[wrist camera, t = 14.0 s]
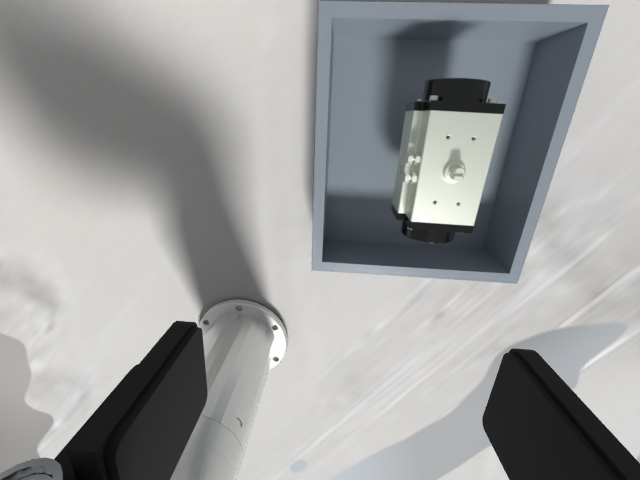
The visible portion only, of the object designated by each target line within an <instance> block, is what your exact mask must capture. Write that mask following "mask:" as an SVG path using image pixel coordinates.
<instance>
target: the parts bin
mask: <svg viewBox="0 0 640 480" xmlns="http://www.w3.org/2000/svg"><path fill="white" fill-rule="evenodd" d="M608 7H609V5H568V4H503V3H439V2H375V1H319V7H318V45H317V83H316V122H315V160H314V199H313V237H312V270H315V271H331V272H346V273H362V274H377V275H393V276H408V277H424V278H440V279H455V280H471V281H486V282H502V283H518V280H519V277H520V274H521V271H522V268H523V265H524V262H525V259H526V256H527V253H528V250H529V247H530V244H531V241H532V237H533V234H534V231H535V228H536V225H537V222H538V219H539V216H540V213H541V210H542V207H543V204H544V201H545V198H546V195H547V192H548V189H549V186H550V183H551V180H552V177H553V174H554V171H555V168H556V165H557V162H558V159H559V156H560V153H561V150H562V147H563V143H564V140H565V137H566V134H567V131H568V128H569V125H570V122H571V119H572V116H573V113H574V110H575V107H576V104H577V101H578V98H579V95H580V92H581V89H582V86H583V83H584V80H585V77H586V74H587V71H588V68H589V65H590V62H591V59H592V56H593V52H594V49H595V46H596V43H597V40H598V37H599V34H600V31H601V28H602V25H603V22H604V19H605V16H606V13H607V10H608ZM440 78H472V79H482V80H488V81H490V82H491V85H490V89H489V93H488V97H487V102H488V99H489V98H496V99H498V100H497V103H498V104H506V107H505V110H504V114H503V118H502V122H501V126H500V129H499V133H498V137H497V141H496V145H495V148H494V152H493V156H492V160H491V164H490V167H489V171H488V175H487V179H486V183H485V186H484V190H483V194H482V198H481V201H480V205H479V209H478V213H477V217H476V220H475V224H474V228H473V232H472V233H458V232H455V235H454V239H453V240H452V241H451V242H449V243H445V244H430V243H424V242H419V241H416V240H413V239H410V238H408V237H406V236H405V235H404V234H402V232H401V226H402V220H396V218H395V216H394V214H393V212H392V210H391V207H392V200H393V193H394V187H395V180H396V173H397V166H398V159H399V153H400V146H401V139H402V132H403V125H404V119H405V112H406V105H407V103H410V102H414V101H417V99H423V93H424V87H425V82H426V81H427V80H431V79H440ZM487 102H486V103H487Z"/></svg>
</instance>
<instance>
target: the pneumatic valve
mask: <svg viewBox="0 0 640 480" xmlns="http://www.w3.org/2000/svg"><path fill="white" fill-rule="evenodd" d="M490 85H491V82H490V81H488V80H482V79H472V78H440V79H431V80H427V81H426V82H425V87H424V93H423V99H417V101H414V102H410V103H407V105H406V112H405V119H404V125H403V132H402V139H401V146H400V153H399V159H398V166H397V173H396V180H395V187H394V193H393V200H392V207H391V210H392V212H393V214H394V216H395V218H396V220H402V226H401V232H402V234H404V235H405V236H406V237H408V238H410V239H413V240H416V241H419V242H424V243H430V244H445V243H449V242H451V241H452V240H453V239H454V235H455V232H458V233H472V232H473V228H474V224H475V220H476V217H477V213H478V209H479V205H480V201H481V198H482V194H483V190H484V186H485V183H486V179H487V175H488V171H489V167H490V164H491V160H492V156H493V152H494V148H495V145H496V141H497V137H498V133H499V129H500V126H501V122H502V118H503V114H504V110H505V107H506V104H498V103H497V100H498V99H496V98H489V99H488V102H487V97H488V93H489V89H490ZM486 102H487V103H486Z"/></svg>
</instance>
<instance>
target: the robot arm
mask: <svg viewBox="0 0 640 480" xmlns="http://www.w3.org/2000/svg"><path fill="white" fill-rule="evenodd" d="M287 344H288V341H287V333H286V329H285V327H284V325H283V323H282V322H281V321H280V319H279V318H278V317H277V316H276V315H275V314H274V313H273V312H272V311H271V310H269V309H268V308H266V307H264V306H262V305H260V304H258V303H256V302H252V301H248V300H241V299H234V300H227V301H222V302H220V303H218V304H216V305H214V306H213V307H211V308H210V309H209V310H208V311H207V312H206V313H205V315H204V316H203V318H202V319H201V321H200V324H199V327H197V324H196V323H195V322H184V321H176V322H174V323H173V324H172V326H171V327H170V328H169V329H168V330H167V332H166V333H165V334H164V335H163V336H162V337H161V339H160V340H159V341H158V342H157V343H156V345H155V346H154V347H153V348H152V349H151V351H150V352H149V353H148V354H147V355H146V356H145V358H144V359H143V360H142V361H141V362H140V364H138V365H136V366H134V367H133V368H132V369H131V370H130V371H129V373H128V374H127V375H126V376H125V377H124V378H123V380H122V381H121V382H120V383H119V384H118V385H117V387H116V388H115V389H114V390H113V391H112V392H111V394H110V395H109V396H108V397H107V398H106V399H105V401H104V402H103V403H102V404H101V405H100V406H99V408H98V409H97V410H96V411H95V412H94V413H93V415H92V416H91V417H90V418H89V419H88V420H87V422H86V423H85V424H84V425H83V426H82V427H81V429H80V430H79V431H78V432H77V433H76V434H75V436H74V437H73V438H72V439H71V440H70V441H69V443H68V444H67V445H66V446H65V447H64V448H63V450H62V451H61V452H60V453H59V454H58V455H57V457H56V458H55V459H49V458H38V459H32V460H29V461H26V462H23V463H20V464H17V465H15V466H14V467H12V468H10V469H8V470H6V471H4V472H2V473H1V474H0V480H237V476H238V473H239V469H240V466H241V463H242V459H243V456H244V453H245V449H246V446H247V443H248V439H249V436H250V432H251V429H252V426H253V422H254V419H255V415H256V412H257V409H258V405H259V402H260V398H261V395H262V392H263V388H264V385H265V381H266V378H267V375H268V371H269V370H271V369H273V368H275V367H276V366H277V365H278V364H279V363H280V362H281V360H282V359H283V357H284V355H285V352H286V349H287ZM483 427H484V430H485V432H486V434H487V436H488V438H489V440H490V442H491V444H492V446H493V448H494V450H495V452H496V454H497V456H498V458H499V460H500V462H501V464H502V466H503V468H504V470H505V472H506V474H507V476H508V478H509V480H640V463H639V462H638V461H637V460H636V459H635V458H634V457H633V456H632V455H631V454H630V452H629V451H628V450H627V449H626V448H625V447H624V446H623V445H622V444H621V443H620V442H619V441H618V439H617V438H616V437H615V436H614V435H613V434H612V433H611V432H610V431H609V430H608V429H607V428H606V427H605V425H604V424H603V423H602V422H601V421H600V420H599V419H598V418H597V417H596V416H595V415H594V414H593V412H592V411H591V410H590V409H589V408H588V407H587V406H586V405H585V404H584V403H583V402H582V401H581V399H580V398H579V397H578V396H577V395H576V394H575V393H574V392H573V391H572V390H571V389H570V388H569V386H567V384H566V383H565V382H564V381H563V380H562V379H561V378H560V377H559V376H558V375H557V374H556V372H555V371H554V370H553V369H552V368H551V367H550V366H549V365H548V364H547V363H546V362H545V361H544V359H543V358H542V357H541V356H540V355H539V354H538V353H537V352H536V351H533V350H525V349H511V350H510V351H509V353H506V354H504V356H503V359H502V362H501V365H500V368H499V371H498V374H497V377H496V379H495V382H494V385H493V388H492V391H491V394H490V398H489V400H488V403H487V406H486V409H485V412H484V415H483Z"/></svg>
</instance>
